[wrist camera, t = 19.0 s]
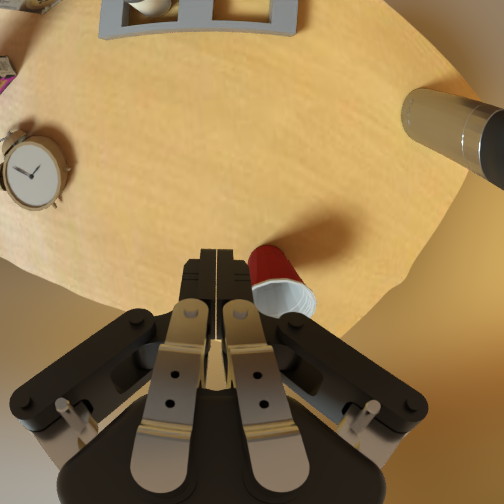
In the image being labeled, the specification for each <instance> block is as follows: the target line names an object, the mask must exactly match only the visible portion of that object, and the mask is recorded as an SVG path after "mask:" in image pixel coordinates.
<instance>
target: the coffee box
mask: <svg viewBox="0 0 504 504" xmlns="http://www.w3.org/2000/svg"><path fill="white" fill-rule="evenodd" d="M60 1H61V0H0V8H1V9H10V10H18V11H25V12H31V13H37V14H41V15H43V14H45V13H46V12H47V11H48V10H50V9H51V8H52V7H53V6H55V5H56V4H57V3H59V2H60Z"/></svg>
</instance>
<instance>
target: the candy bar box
mask: <svg viewBox="0 0 504 504" xmlns="http://www.w3.org/2000/svg"><path fill="white" fill-rule="evenodd" d="M16 76H17V74H16V72H15V70H14V68H13V66H12V64H11V62H10V60H9V58H8V56H0V94H1V93H2V92H3V91H4V89H5V88H6V87H7V86H8V85H9V84H10V82H11V81H12V80H13V79H14V78H15V77H16Z"/></svg>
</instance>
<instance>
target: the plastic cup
mask: <svg viewBox="0 0 504 504" xmlns="http://www.w3.org/2000/svg"><path fill="white" fill-rule="evenodd" d="M248 266H249V270H250V277H251V285H252V292H253V299H254V304H255V306H256V307H257V309H258V310H259V311H260V312H261V313H263V314H265V315H267V316H270V317H274V318H279V317H280V316H281V315H282V314H284V313H287V312H299V313H302V314H304V315H306V316H307V317H309V318H311V316H312V315H313V314H314V312H315V308H316V303H317V302H316V299H315V296H314V294H313V292H312V290H311V289H310V288H308V287H307V286H306V285H305V284H304V282H303V281H302V279H301V278H300V277H299V275H298V274H297V272H296V271H295V269H294V268H293V266H292V265H291V263H290V262H289V260H288V259H287V258H286V257H285V255H284V254H283V252H282V251H281V250H279V249H278V248H277V247H275V246H271V245H263V246H261V247H258V248H256V249H255V250H254V251H253V252H252V253H251V255H250V257H249V260H248Z"/></svg>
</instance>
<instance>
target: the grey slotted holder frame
mask: <svg viewBox="0 0 504 504" xmlns="http://www.w3.org/2000/svg"><path fill="white" fill-rule="evenodd" d="M213 10H214V0H179V10H178V21H174V22H161V23H150V24H141V25H133V26H128V24H129V12H130V4H129V3H128V2H125V1H123V0H102V3H101V12H100V24H99V38H100V39H104V40H111V39H117V38H124V37H131V36H139V35H148V34H159V33H173V32H199V31H219V32H246V33H260V34H271V35H280V36H288V37H291V36H293V35H295V34H296V24H297V11H298V0H270V5H269V18H268V23H259V22H245V21H219V20H213Z"/></svg>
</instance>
